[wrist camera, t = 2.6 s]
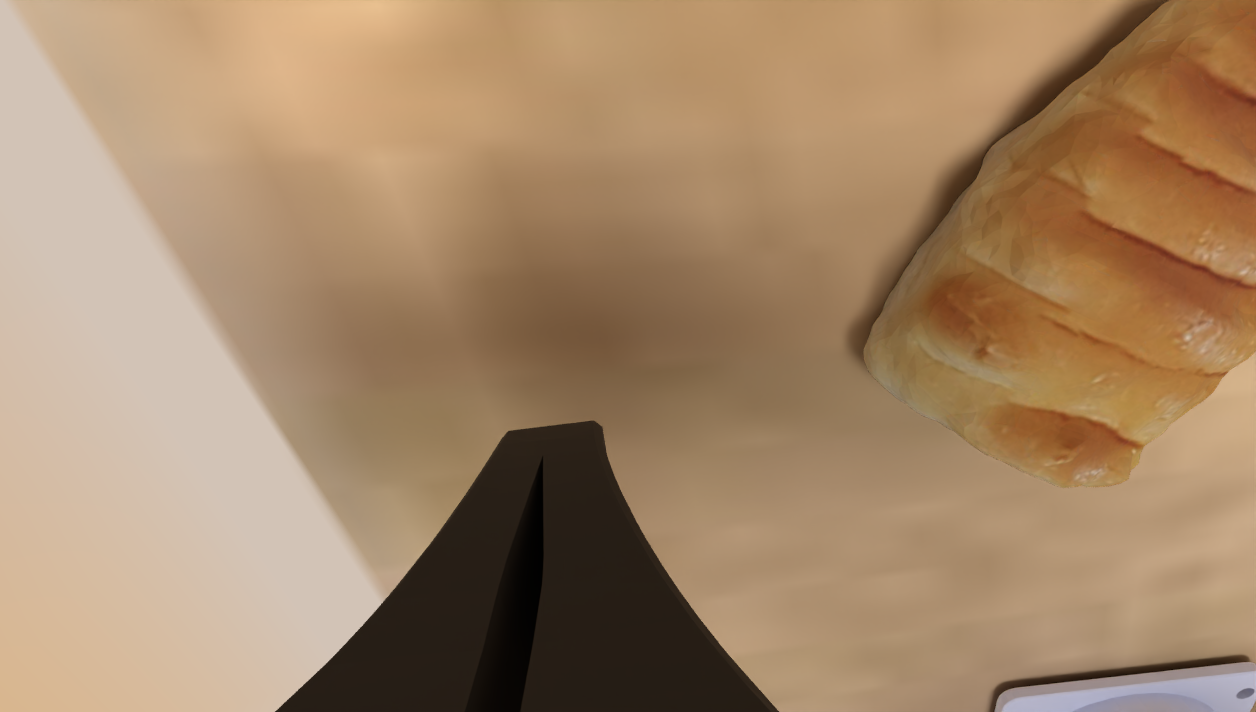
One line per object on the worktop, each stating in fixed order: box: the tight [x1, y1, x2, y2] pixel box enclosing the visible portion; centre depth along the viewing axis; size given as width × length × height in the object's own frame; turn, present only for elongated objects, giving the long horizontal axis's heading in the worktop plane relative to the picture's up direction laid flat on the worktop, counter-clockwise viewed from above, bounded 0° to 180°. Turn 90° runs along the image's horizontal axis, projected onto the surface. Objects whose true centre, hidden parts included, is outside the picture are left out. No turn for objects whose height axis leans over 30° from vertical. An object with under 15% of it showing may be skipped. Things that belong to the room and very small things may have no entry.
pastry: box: [863, 0, 1256, 488], centre depth 13 cm, size 9×7×4 cm
